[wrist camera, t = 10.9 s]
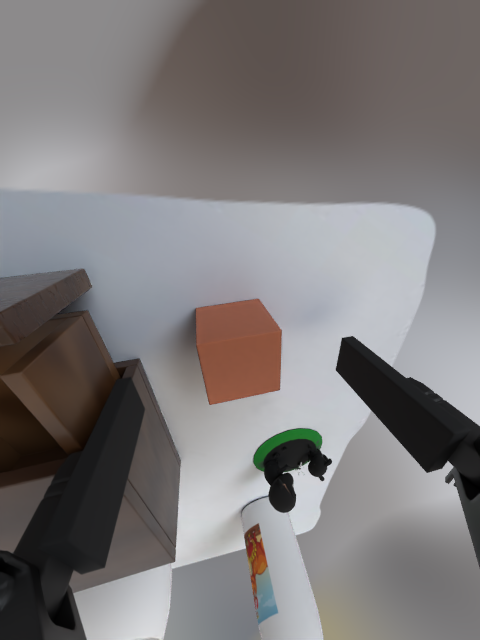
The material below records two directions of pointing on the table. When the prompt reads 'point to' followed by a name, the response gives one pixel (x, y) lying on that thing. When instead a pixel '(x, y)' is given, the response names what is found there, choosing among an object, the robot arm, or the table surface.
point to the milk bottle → (278, 576)
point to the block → (238, 350)
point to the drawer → (48, 369)
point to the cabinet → (137, 504)
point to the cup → (127, 606)
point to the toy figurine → (289, 463)
